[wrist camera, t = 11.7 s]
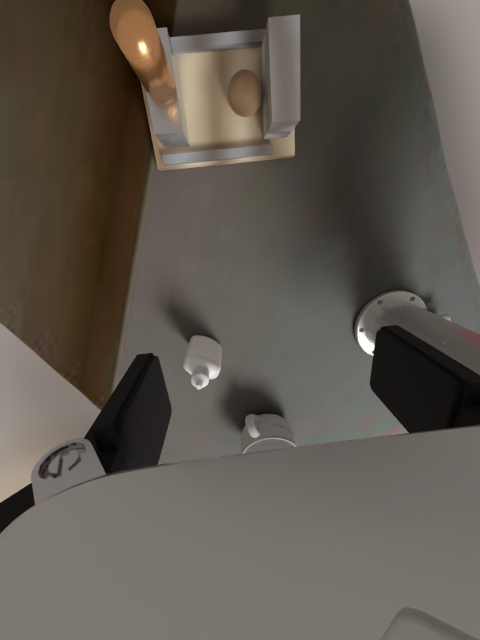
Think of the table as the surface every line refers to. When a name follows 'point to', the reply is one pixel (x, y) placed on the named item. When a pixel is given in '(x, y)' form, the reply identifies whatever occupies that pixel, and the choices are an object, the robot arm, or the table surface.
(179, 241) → the table surface
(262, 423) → the teacup
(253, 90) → the walnut
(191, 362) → the eye dropper bottle
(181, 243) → the table surface
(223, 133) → the board
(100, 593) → the robot arm
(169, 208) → the table surface
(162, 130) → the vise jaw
